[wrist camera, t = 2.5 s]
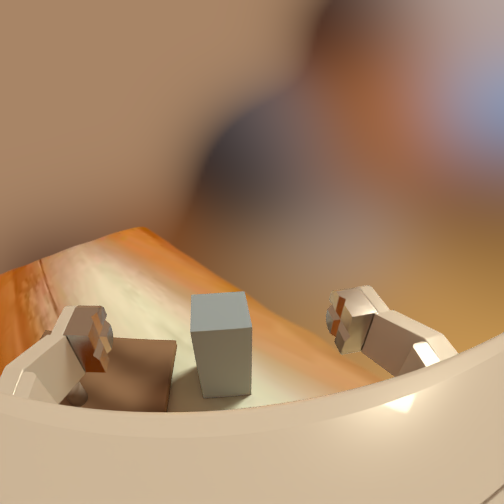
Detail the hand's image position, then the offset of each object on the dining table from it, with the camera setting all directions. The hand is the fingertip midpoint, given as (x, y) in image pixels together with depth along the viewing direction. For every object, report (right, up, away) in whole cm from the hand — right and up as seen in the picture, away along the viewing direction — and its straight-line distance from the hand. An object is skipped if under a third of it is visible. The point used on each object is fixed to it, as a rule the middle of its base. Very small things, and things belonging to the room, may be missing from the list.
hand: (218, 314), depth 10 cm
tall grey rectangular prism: (-2, -12, +20) cm, 23 cm away
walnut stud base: (-17, -14, +15) cm, 27 cm away
